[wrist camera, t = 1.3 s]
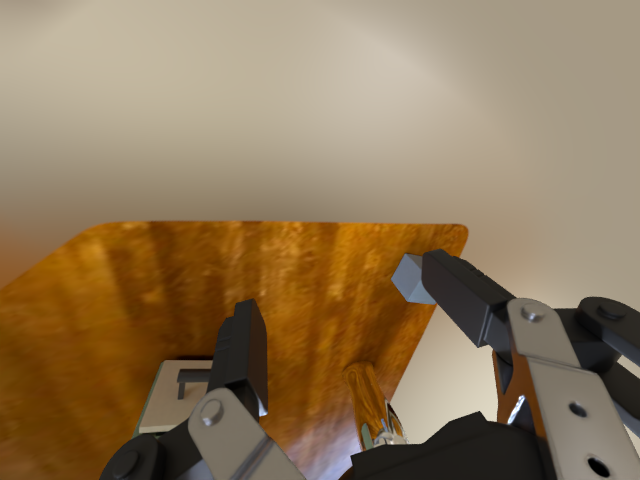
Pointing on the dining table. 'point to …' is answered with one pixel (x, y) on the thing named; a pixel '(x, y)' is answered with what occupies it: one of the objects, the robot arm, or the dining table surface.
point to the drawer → (175, 395)
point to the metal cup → (371, 408)
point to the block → (411, 280)
